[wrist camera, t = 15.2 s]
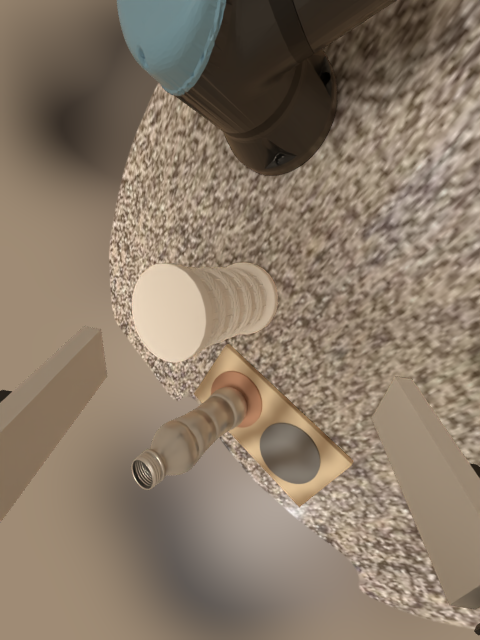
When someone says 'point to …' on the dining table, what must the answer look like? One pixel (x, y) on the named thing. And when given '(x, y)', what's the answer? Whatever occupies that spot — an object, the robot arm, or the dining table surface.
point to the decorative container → (200, 306)
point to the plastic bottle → (189, 437)
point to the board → (276, 430)
